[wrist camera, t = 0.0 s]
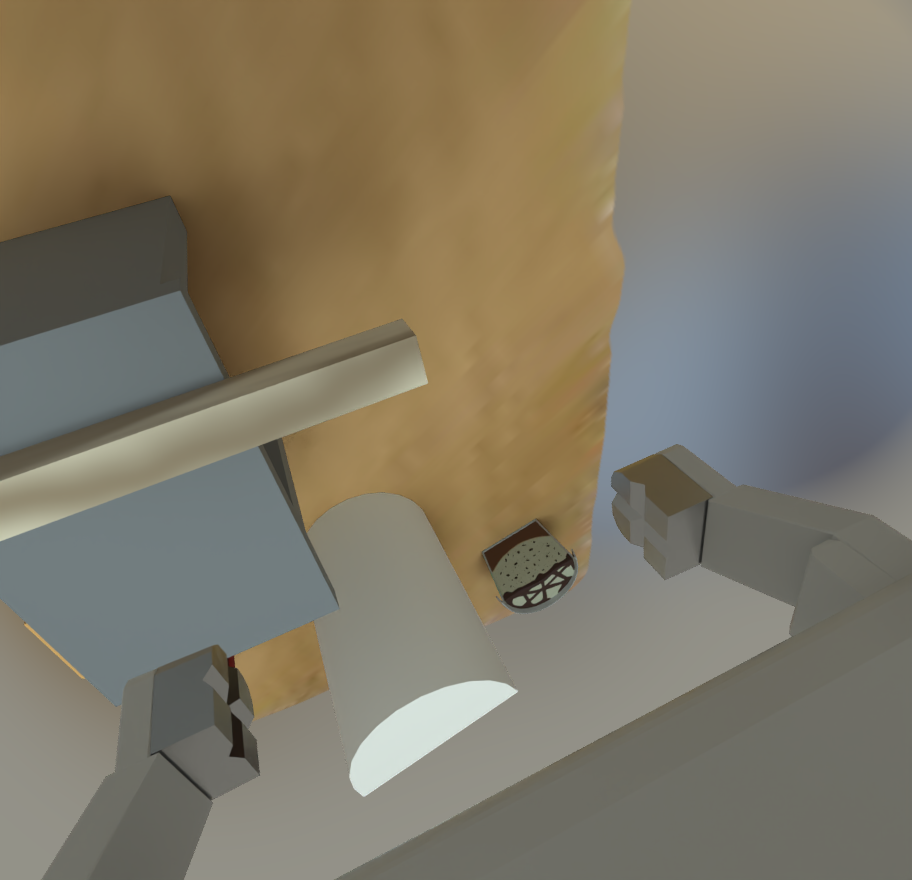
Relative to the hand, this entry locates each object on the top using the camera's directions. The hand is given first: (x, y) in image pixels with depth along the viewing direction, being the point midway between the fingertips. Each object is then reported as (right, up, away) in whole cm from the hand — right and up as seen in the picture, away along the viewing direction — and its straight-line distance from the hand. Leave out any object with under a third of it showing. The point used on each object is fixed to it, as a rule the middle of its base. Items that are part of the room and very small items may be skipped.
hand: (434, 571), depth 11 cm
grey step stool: (-27, +10, +42) cm, 51 cm away
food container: (+9, -13, +75) cm, 77 cm away
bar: (-14, +4, +19) cm, 24 cm away
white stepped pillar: (-11, -11, +64) cm, 66 cm away
